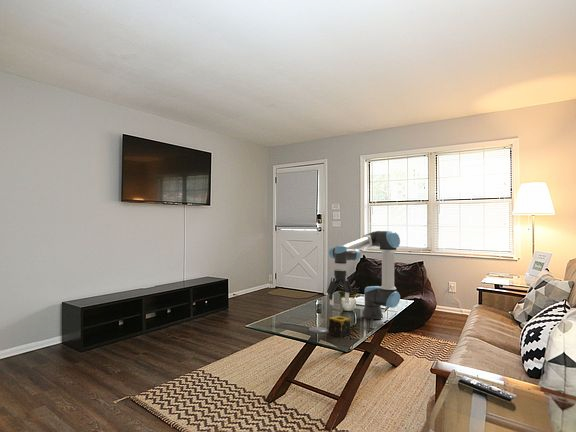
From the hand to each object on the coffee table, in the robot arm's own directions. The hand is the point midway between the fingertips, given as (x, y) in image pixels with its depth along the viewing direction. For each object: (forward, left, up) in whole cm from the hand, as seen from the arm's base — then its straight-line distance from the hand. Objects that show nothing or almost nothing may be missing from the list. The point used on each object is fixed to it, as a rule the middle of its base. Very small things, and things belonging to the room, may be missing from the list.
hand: (339, 303), depth 215 cm
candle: (+1, +1, -19) cm, 19 cm away
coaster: (+7, -12, -18) cm, 23 cm away
